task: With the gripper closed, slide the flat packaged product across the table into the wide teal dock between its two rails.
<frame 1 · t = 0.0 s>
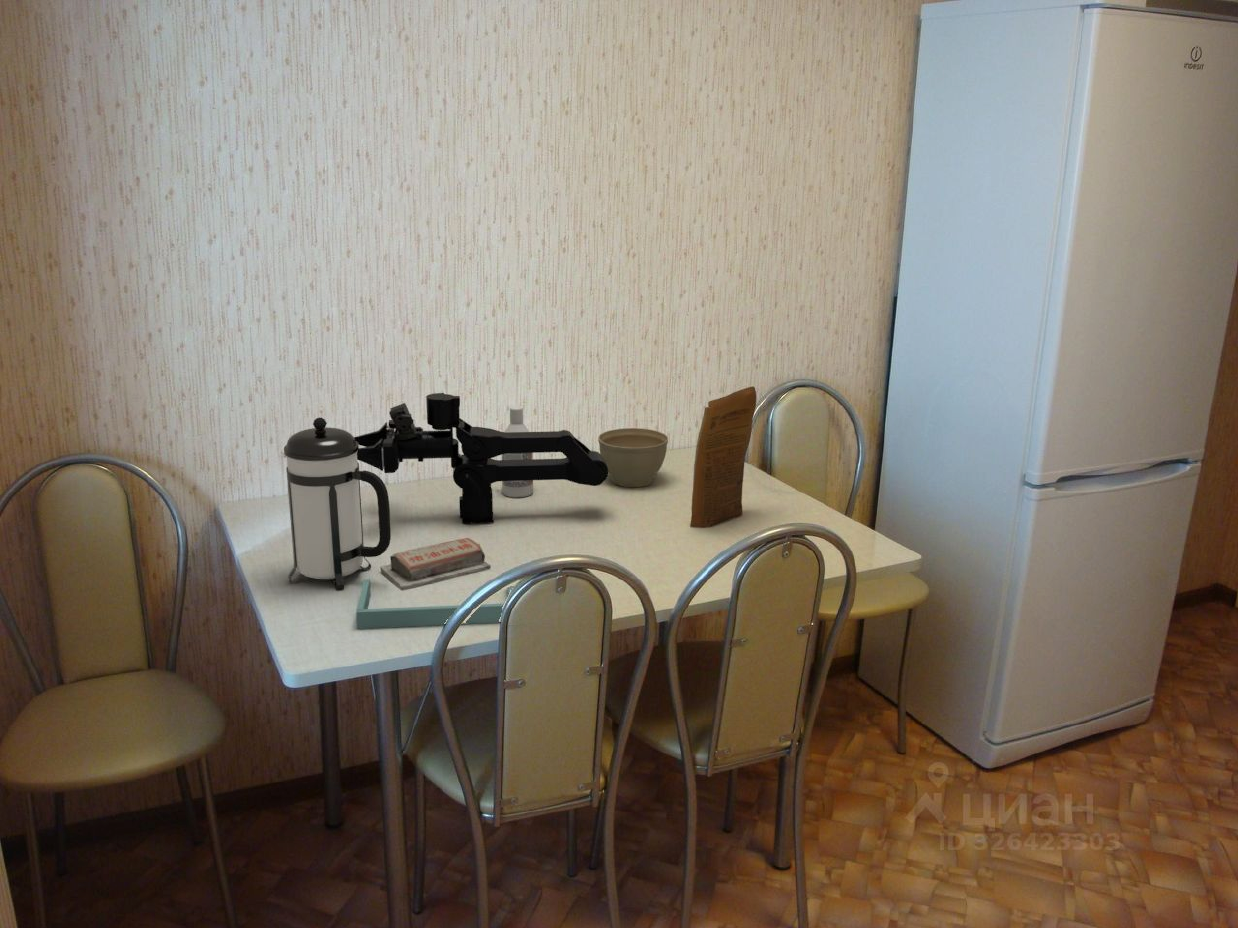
hand: (350, 446, 221), 17 cm above the table, tool horizontal, fingers open, 9 cm apart
pancake mix bag: (719, 520, 231), on the table
packaged product: (435, 573, 203), on the table
dock: (438, 607, 187), on the table
coffee press: (337, 576, 200), on the table
bath foam: (517, 494, 245), on the table
planter bowl: (632, 482, 255), on the table
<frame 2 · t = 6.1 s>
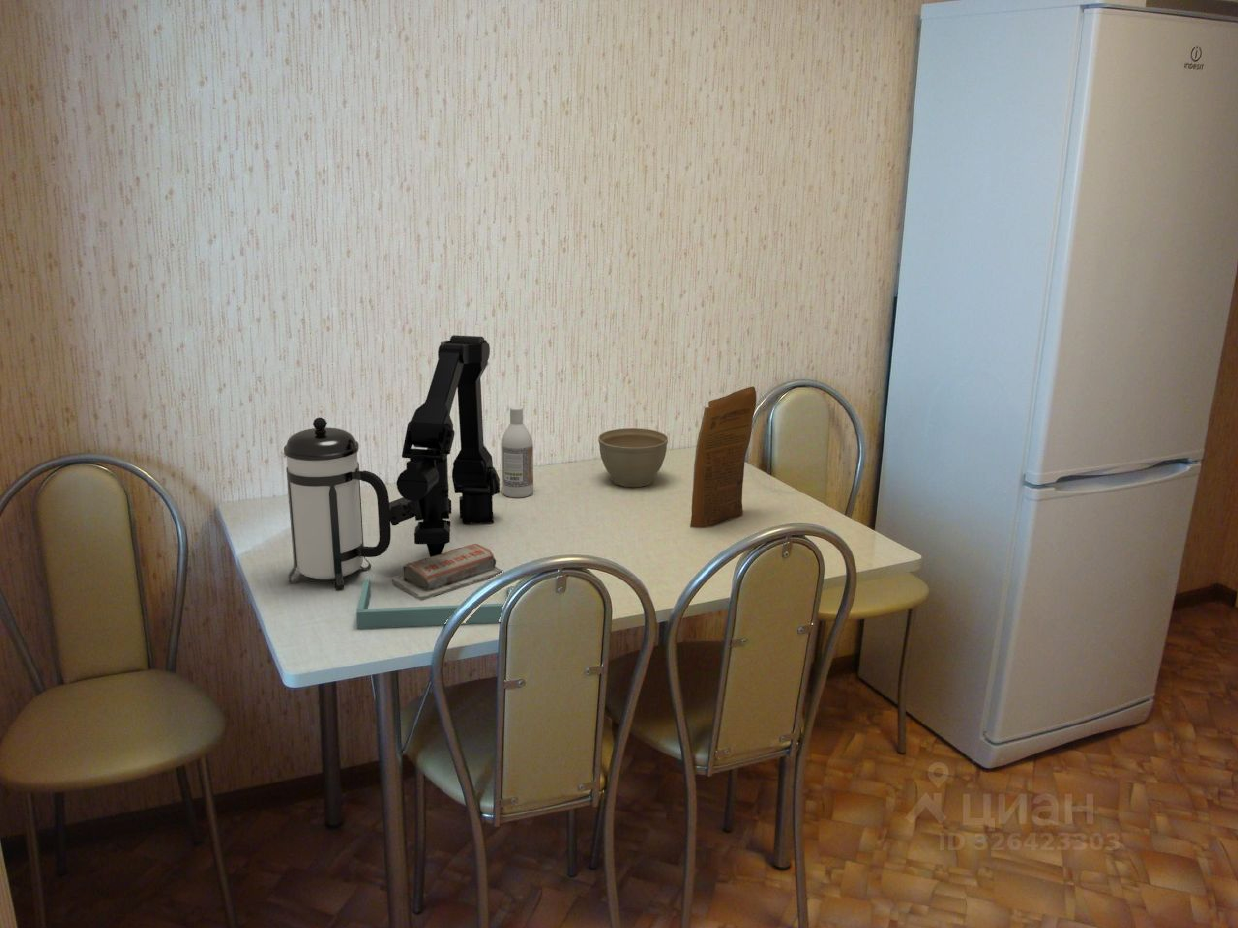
hand: (435, 562, 203), 1 cm above the table, tool pointing down, fingers closed
packaged product: (448, 582, 199), on the table, touching gripper
everything else where it was.
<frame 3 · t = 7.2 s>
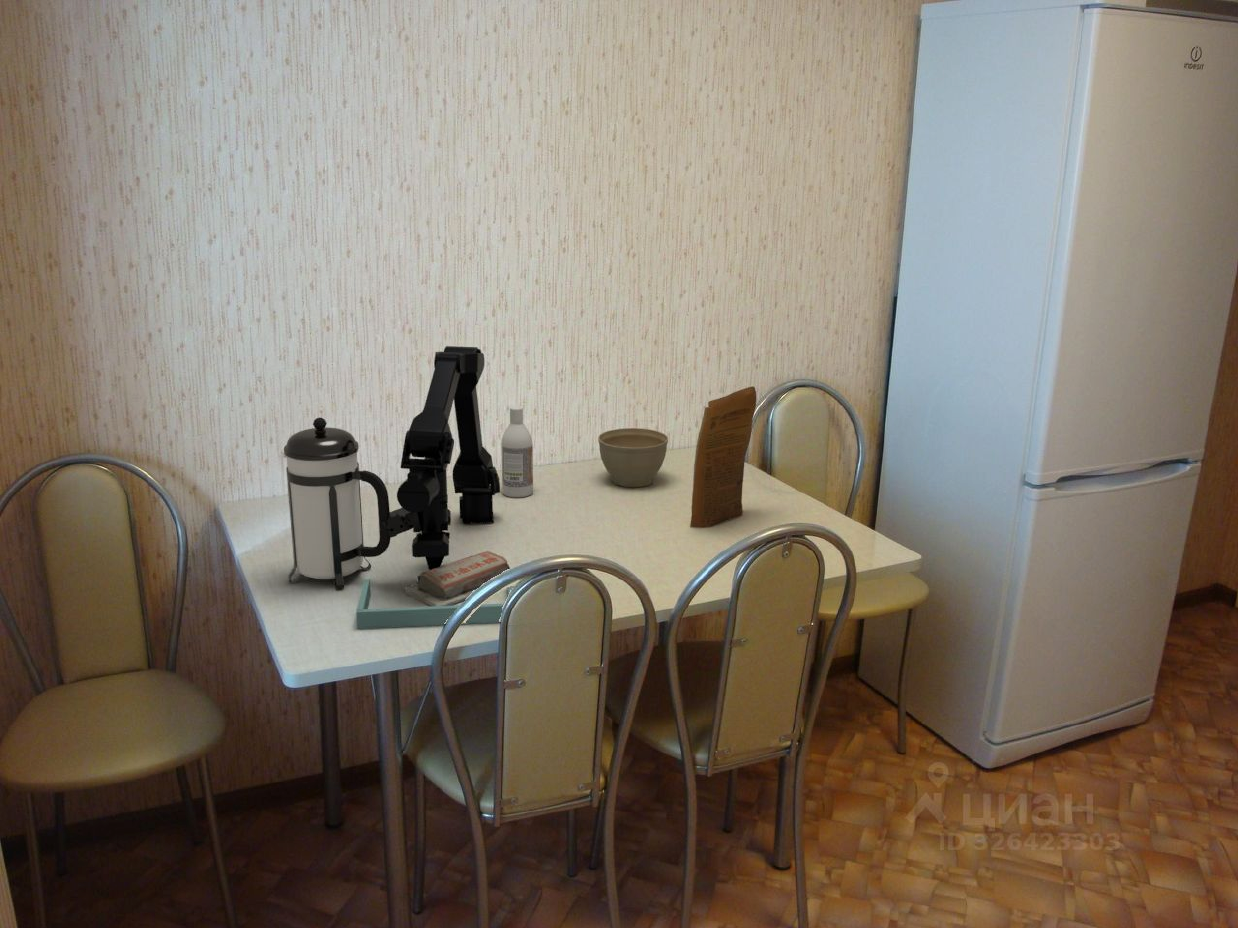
hand: (433, 575, 197), 1 cm above the table, tool pointing down, fingers closed
packaged product: (462, 590, 196), on the table
everything else where it was.
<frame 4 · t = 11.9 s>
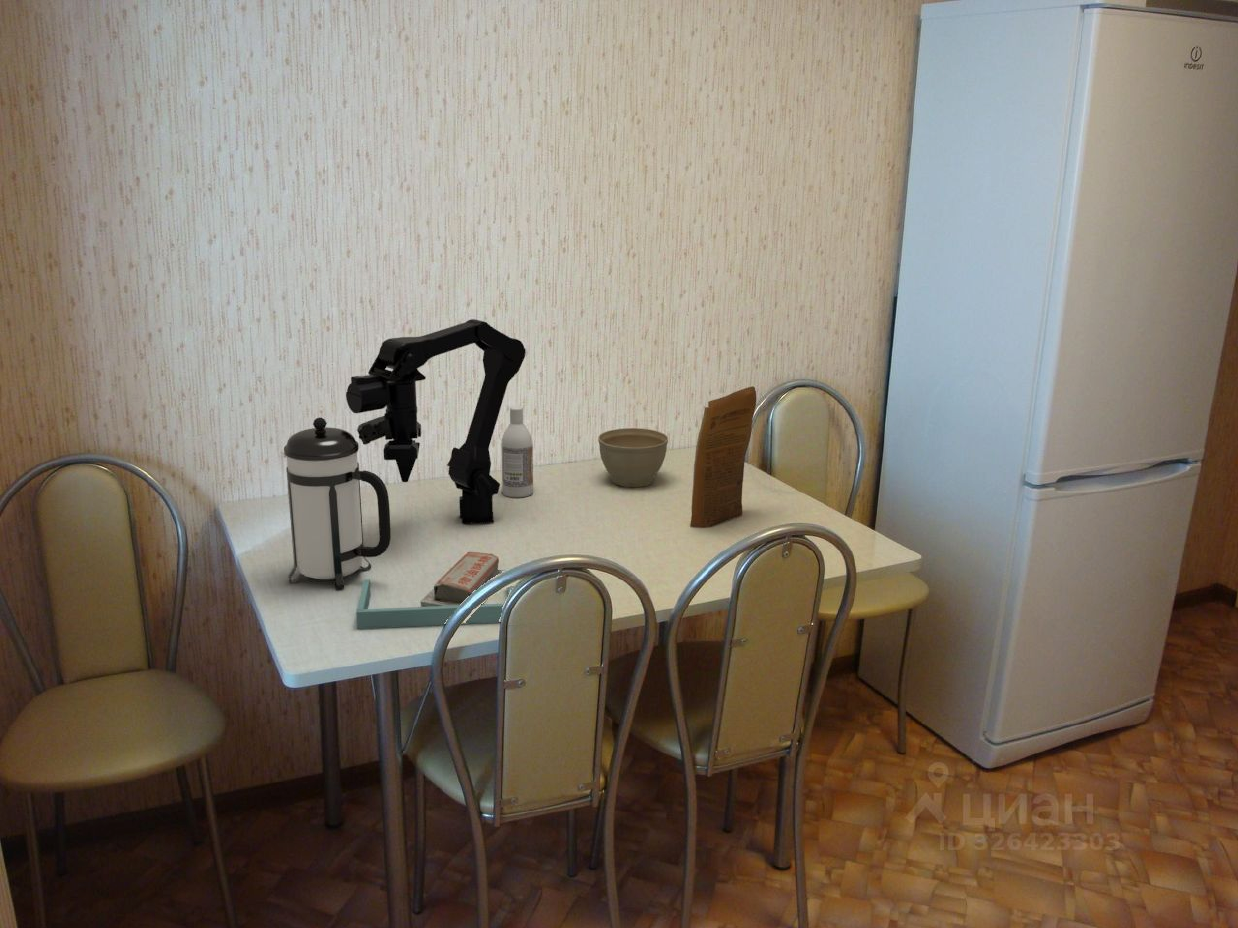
hand: (405, 481, 214), 12 cm above the table, tool pointing down, fingers closed
packaged product: (466, 593, 194), on the table
everything else where it was.
at the end: packaged product inside the target area (7.3 cm from its centre), on the table; packaged product moved 11.2 cm from its start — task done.
